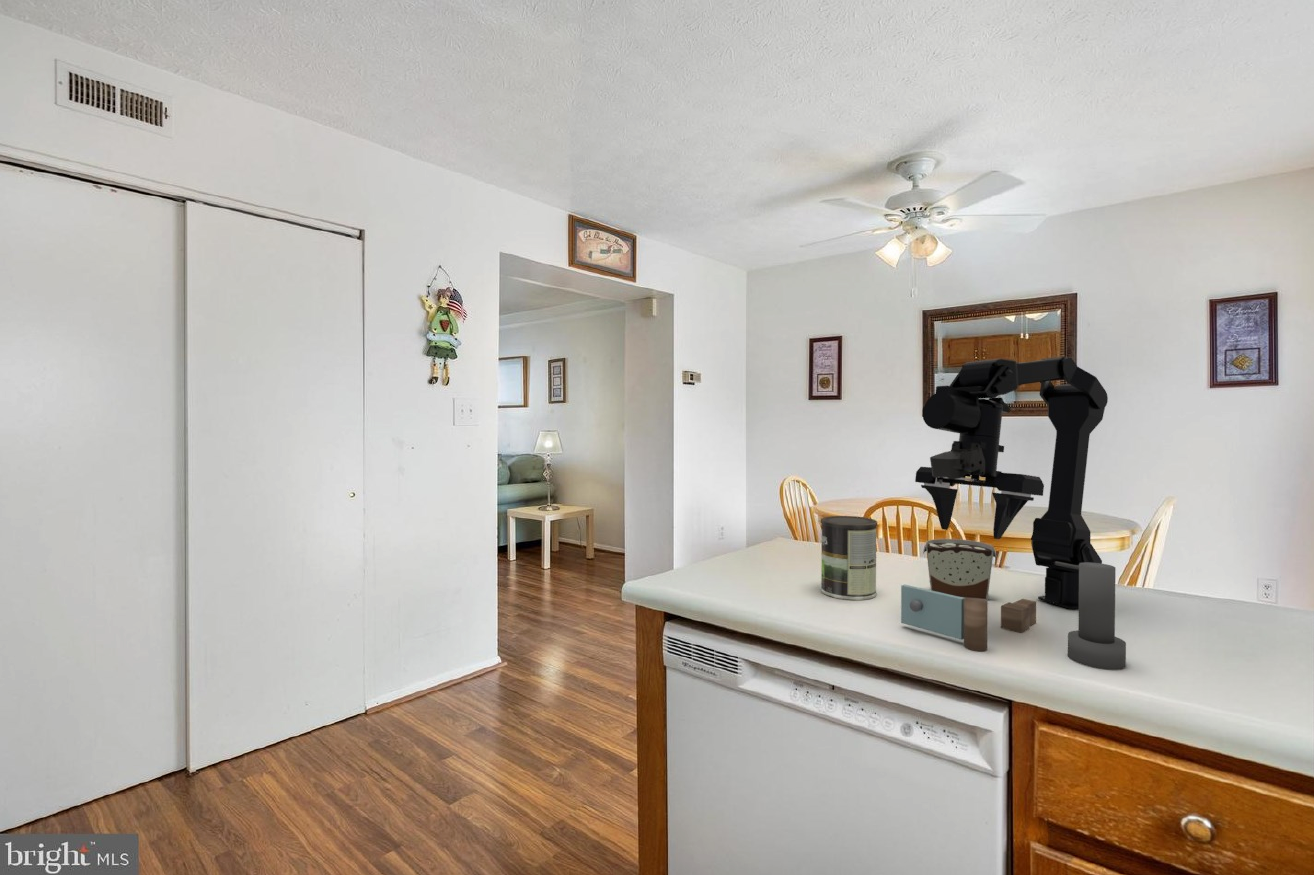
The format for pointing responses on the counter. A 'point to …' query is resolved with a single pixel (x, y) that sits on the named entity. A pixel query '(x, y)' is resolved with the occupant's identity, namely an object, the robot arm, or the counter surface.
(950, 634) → the door
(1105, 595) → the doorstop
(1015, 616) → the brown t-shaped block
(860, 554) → the coffee can
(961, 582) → the food container
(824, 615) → the counter surface
